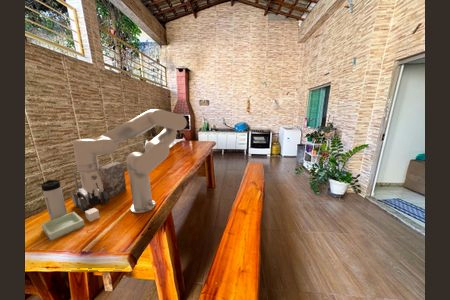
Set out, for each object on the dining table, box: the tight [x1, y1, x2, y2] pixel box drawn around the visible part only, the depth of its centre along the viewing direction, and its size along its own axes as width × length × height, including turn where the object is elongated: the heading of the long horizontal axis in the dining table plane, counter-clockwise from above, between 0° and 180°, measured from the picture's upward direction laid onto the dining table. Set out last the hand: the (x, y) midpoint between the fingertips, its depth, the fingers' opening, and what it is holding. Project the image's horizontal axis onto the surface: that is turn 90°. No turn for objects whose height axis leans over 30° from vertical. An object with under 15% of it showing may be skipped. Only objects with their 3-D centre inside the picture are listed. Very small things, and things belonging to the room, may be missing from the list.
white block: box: [84, 207, 101, 222], centre depth 85 cm, size 5×4×4 cm
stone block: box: [98, 161, 127, 199], centre depth 109 cm, size 13×7×20 cm, turn 171°
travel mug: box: [40, 179, 68, 221], centre depth 83 cm, size 6×7×20 cm
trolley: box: [71, 171, 110, 213], centre depth 96 cm, size 17×12×20 cm
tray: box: [40, 211, 86, 242], centre depth 78 cm, size 13×12×3 cm
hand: (94, 204), depth 79 cm, fingers closed
